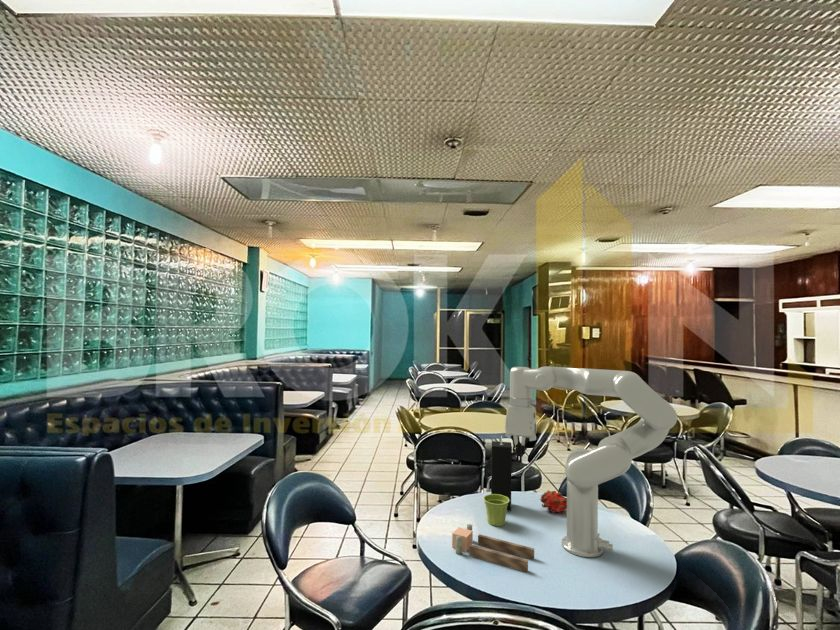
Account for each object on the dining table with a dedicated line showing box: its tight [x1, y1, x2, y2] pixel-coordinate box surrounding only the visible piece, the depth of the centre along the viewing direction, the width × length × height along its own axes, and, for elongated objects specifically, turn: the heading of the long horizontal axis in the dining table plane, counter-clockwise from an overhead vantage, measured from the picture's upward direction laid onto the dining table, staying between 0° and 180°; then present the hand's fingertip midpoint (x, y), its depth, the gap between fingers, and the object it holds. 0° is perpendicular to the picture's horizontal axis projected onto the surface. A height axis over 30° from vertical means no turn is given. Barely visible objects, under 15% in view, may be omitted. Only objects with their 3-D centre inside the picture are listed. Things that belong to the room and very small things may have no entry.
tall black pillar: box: [490, 435, 513, 512], centre depth 170 cm, size 8×8×28 cm
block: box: [451, 526, 474, 552], centre depth 138 cm, size 5×5×4 cm
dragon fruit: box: [539, 490, 567, 514], centre depth 166 cm, size 8×8×12 cm
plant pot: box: [483, 493, 509, 527], centre depth 155 cm, size 9×9×9 cm
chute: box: [455, 524, 535, 573], centre depth 132 cm, size 22×11×5 cm, turn 62°
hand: (520, 455), depth 147 cm, fingers closed
